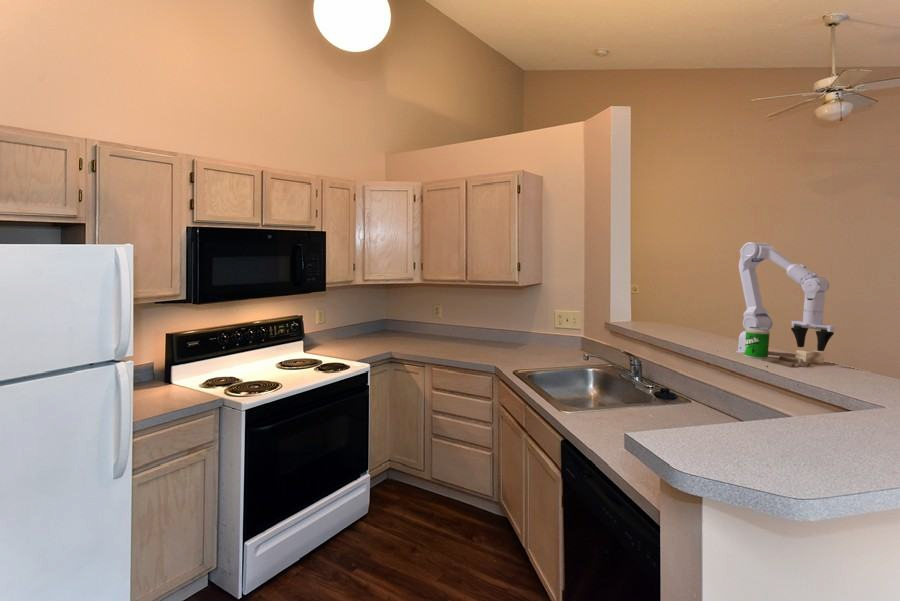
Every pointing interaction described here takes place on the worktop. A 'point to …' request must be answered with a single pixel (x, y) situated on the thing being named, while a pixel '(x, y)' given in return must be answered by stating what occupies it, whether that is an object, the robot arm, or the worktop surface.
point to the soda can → (756, 342)
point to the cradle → (793, 362)
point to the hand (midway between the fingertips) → (810, 349)
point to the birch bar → (810, 356)
